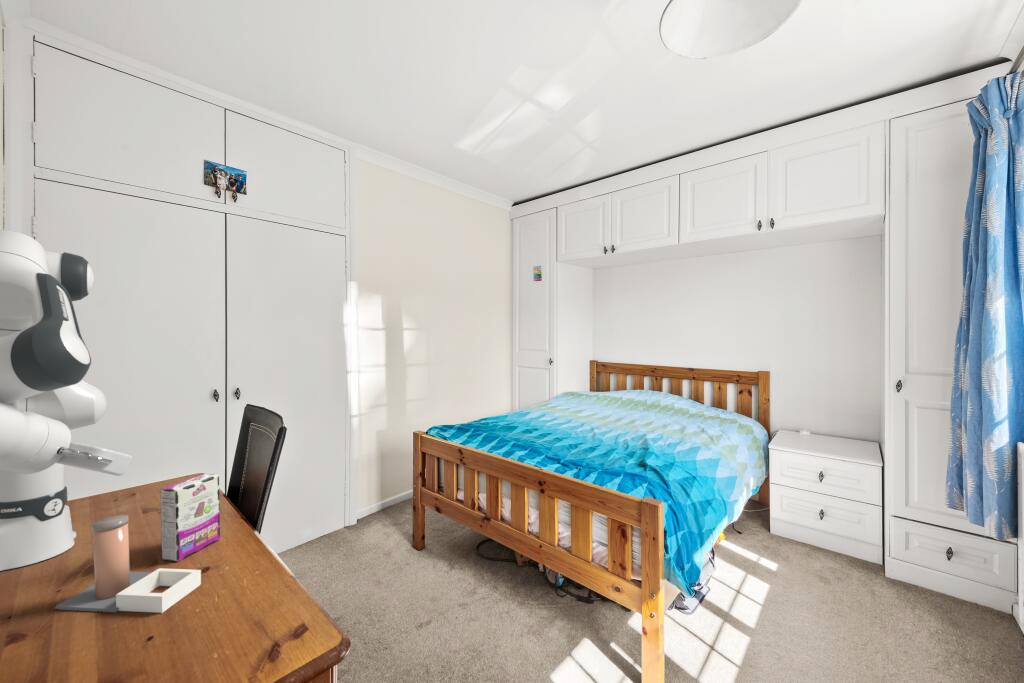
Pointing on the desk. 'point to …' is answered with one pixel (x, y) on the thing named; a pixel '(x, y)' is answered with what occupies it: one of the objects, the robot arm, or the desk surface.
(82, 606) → the mat
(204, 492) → the candy bar box
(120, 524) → the canister
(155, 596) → the frame
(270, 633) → the desk surface
